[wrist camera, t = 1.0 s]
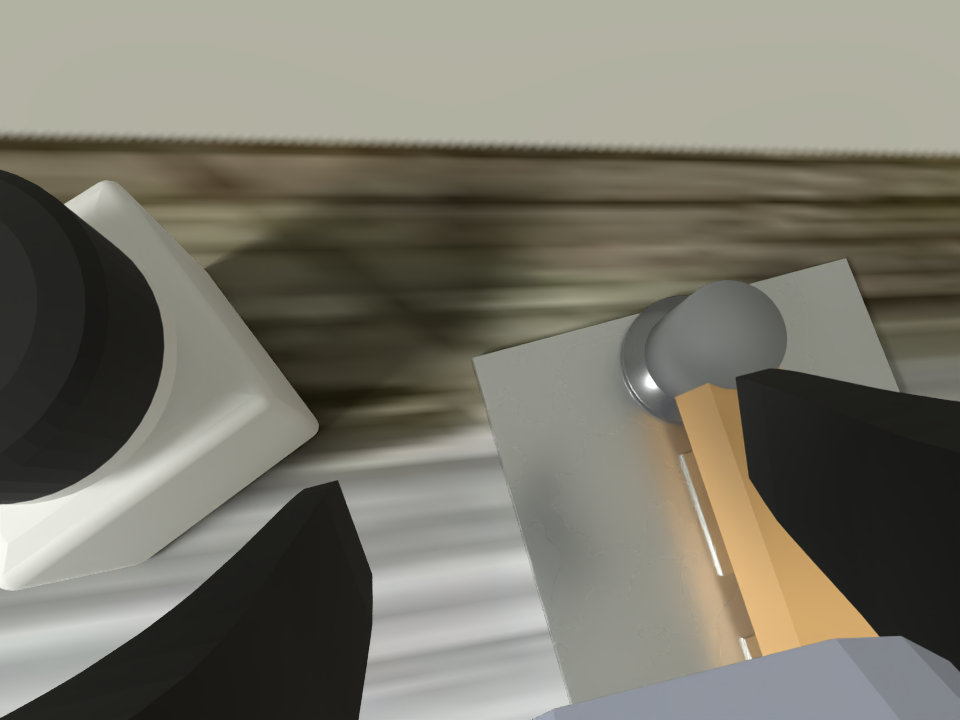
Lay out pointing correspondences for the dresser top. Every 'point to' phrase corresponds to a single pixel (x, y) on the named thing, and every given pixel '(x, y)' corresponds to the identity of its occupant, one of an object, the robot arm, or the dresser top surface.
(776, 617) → the tan piece
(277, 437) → the medicine bottle
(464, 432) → the dresser top surface
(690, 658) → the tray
